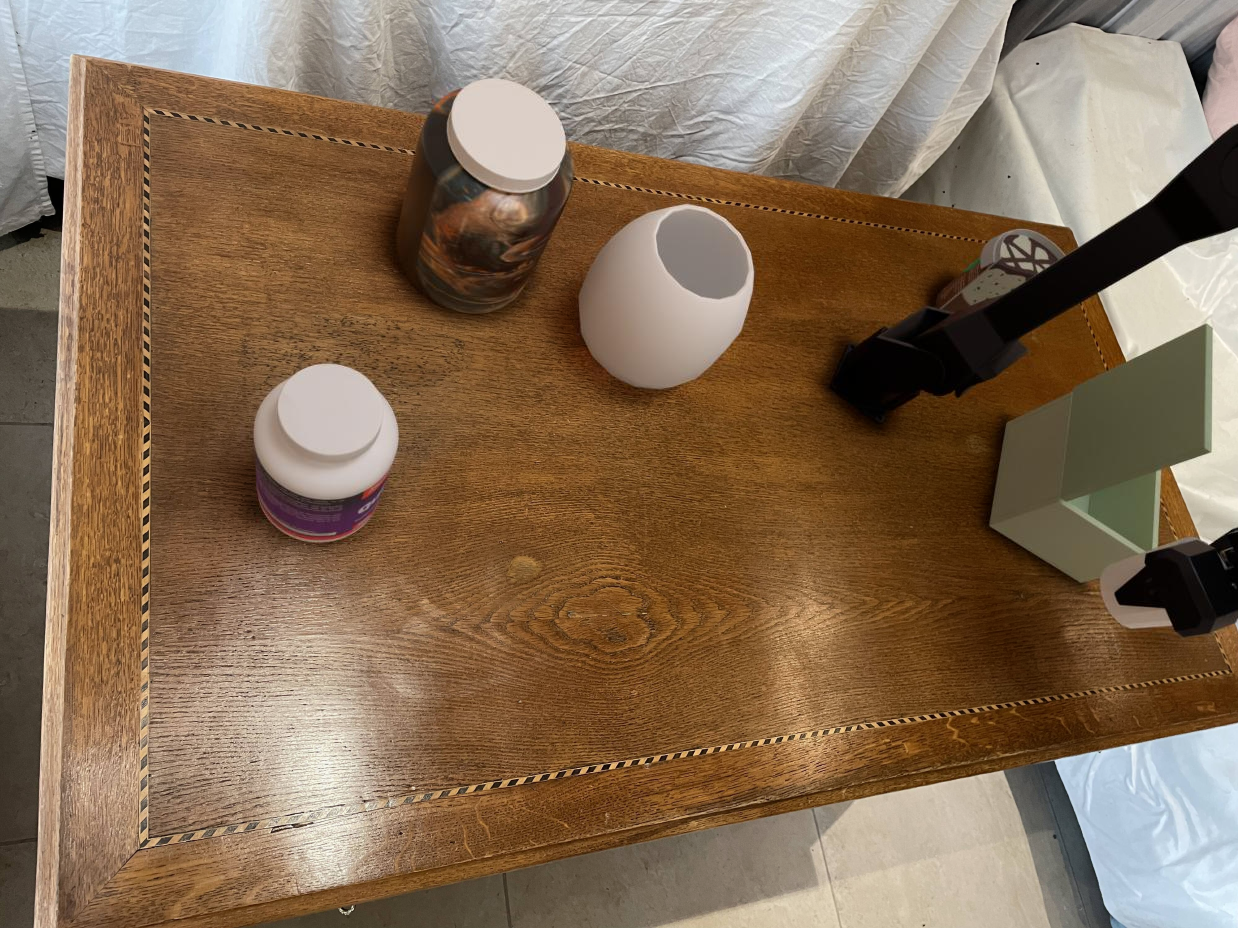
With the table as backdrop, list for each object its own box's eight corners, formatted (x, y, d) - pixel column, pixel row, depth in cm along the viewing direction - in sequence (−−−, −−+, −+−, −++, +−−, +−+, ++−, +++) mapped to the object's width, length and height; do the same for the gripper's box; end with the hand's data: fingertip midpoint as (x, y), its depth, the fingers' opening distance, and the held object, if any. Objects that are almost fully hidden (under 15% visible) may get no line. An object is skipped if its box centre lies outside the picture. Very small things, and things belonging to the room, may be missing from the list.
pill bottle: (368, 554, 55) (396, 491, 43) (245, 537, 53) (235, 464, 40) (387, 448, 58) (417, 361, 46) (270, 427, 56) (269, 328, 43)
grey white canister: (1155, 581, 70) (1238, 563, 64) (1150, 650, 67) (1237, 638, 61) (1098, 542, 69) (1177, 520, 63) (1090, 610, 66) (1172, 594, 60)
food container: (1004, 294, 93) (1078, 246, 85) (1010, 338, 91) (1087, 293, 82) (921, 263, 89) (990, 208, 81) (924, 308, 87) (996, 257, 78)
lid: (1213, 327, 67) (1206, 322, 67) (1212, 452, 61) (1204, 447, 61) (1078, 391, 78) (1072, 387, 78) (1066, 502, 72) (1059, 498, 72)
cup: (623, 431, 67) (696, 359, 55) (533, 307, 68) (587, 210, 56) (725, 366, 73) (809, 290, 62) (642, 254, 74) (710, 158, 63)
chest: (1091, 478, 88) (1162, 452, 81) (1080, 583, 81) (1157, 565, 74) (1006, 422, 86) (1071, 391, 79) (988, 525, 79) (1058, 501, 72)
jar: (365, 218, 64) (388, 78, 51) (483, 178, 70) (529, 44, 57) (444, 334, 63) (488, 222, 50) (556, 284, 69) (621, 172, 56)
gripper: (1351, 701, 47) (1111, 717, 60) (1479, 632, 55) (1243, 659, 69) (1264, 523, 50) (1054, 576, 63) (1399, 483, 58) (1187, 537, 71)
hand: (1140, 591), depth 67 cm, fingers closed on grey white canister, 6 cm apart
